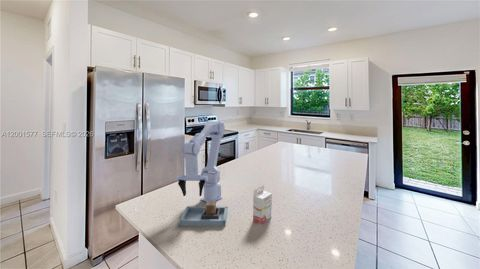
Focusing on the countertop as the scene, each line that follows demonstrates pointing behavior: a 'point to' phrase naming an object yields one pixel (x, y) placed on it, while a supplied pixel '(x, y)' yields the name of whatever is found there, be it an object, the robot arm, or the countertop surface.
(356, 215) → the countertop surface
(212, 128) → the robot arm
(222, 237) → the countertop surface
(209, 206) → the tan wooden block
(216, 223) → the blue shallow rectangular tray
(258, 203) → the ink cartridge box
